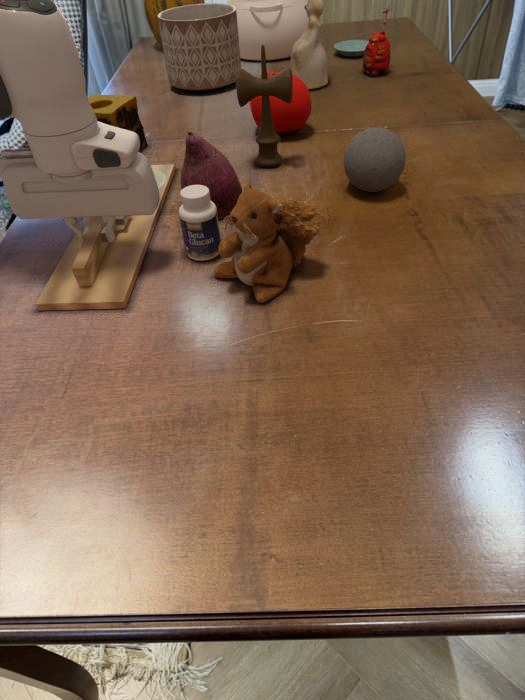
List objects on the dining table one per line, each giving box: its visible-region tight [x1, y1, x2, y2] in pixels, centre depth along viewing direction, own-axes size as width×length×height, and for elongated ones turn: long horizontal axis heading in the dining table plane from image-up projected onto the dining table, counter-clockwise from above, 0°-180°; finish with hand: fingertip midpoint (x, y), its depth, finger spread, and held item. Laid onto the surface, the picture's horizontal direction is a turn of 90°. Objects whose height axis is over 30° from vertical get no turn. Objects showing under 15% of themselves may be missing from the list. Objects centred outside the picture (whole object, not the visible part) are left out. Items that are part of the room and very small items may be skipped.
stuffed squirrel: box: [212, 182, 324, 304], centre depth 66 cm, size 10×14×13 cm
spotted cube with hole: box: [87, 94, 149, 153], centre depth 101 cm, size 10×10×10 cm
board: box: [35, 163, 176, 312], centre depth 82 cm, size 12×42×1 cm, turn 178°
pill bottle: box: [178, 185, 222, 262], centre depth 72 cm, size 5×5×10 cm
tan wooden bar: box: [71, 216, 127, 286], centre depth 74 cm, size 18×5×3 cm, turn 178°
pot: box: [226, 0, 309, 62], centre depth 148 cm, size 29×26×16 cm
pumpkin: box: [143, 0, 206, 47], centre depth 156 cm, size 19×19×25 cm
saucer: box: [333, 39, 369, 58], centre depth 146 cm, size 12×12×2 cm
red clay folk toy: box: [362, 3, 392, 77], centre depth 127 cm, size 8×7×15 cm
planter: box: [158, 2, 242, 92], centre depth 128 cm, size 19×19×16 cm
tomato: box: [249, 70, 312, 134], centre depth 104 cm, size 12×14×11 cm
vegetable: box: [180, 129, 243, 221], centre depth 80 cm, size 10×10×15 cm
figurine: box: [289, 0, 330, 92], centre depth 123 cm, size 12×10×20 cm
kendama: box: [235, 45, 293, 168], centre depth 89 cm, size 6×10×20 cm, turn 86°
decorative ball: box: [343, 126, 407, 193], centre depth 83 cm, size 10×10×10 cm
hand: (98, 240), depth 74 cm, fingers closed on tan wooden bar, 2 cm apart
